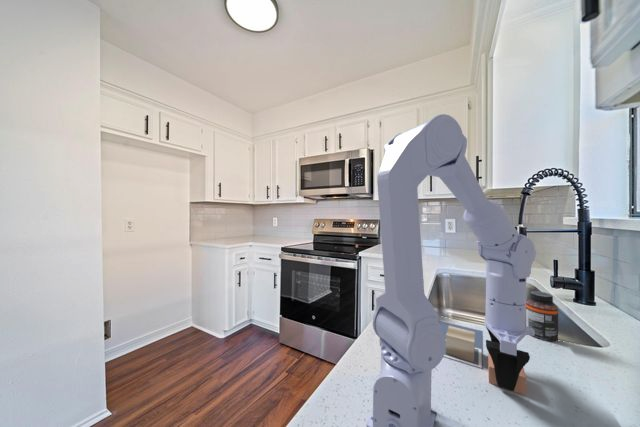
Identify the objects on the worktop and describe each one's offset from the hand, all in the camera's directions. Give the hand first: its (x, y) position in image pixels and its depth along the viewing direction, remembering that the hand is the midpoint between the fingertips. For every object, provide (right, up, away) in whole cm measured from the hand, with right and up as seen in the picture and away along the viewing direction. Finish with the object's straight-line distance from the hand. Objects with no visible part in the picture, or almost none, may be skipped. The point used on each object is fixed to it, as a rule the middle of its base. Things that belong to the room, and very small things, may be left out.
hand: (503, 374), depth 43 cm
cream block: (-3, -1, +8) cm, 9 cm away
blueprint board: (-3, -2, +14) cm, 14 cm away
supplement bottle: (+21, -2, +16) cm, 27 cm away
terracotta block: (0, -2, 0) cm, 2 cm away
